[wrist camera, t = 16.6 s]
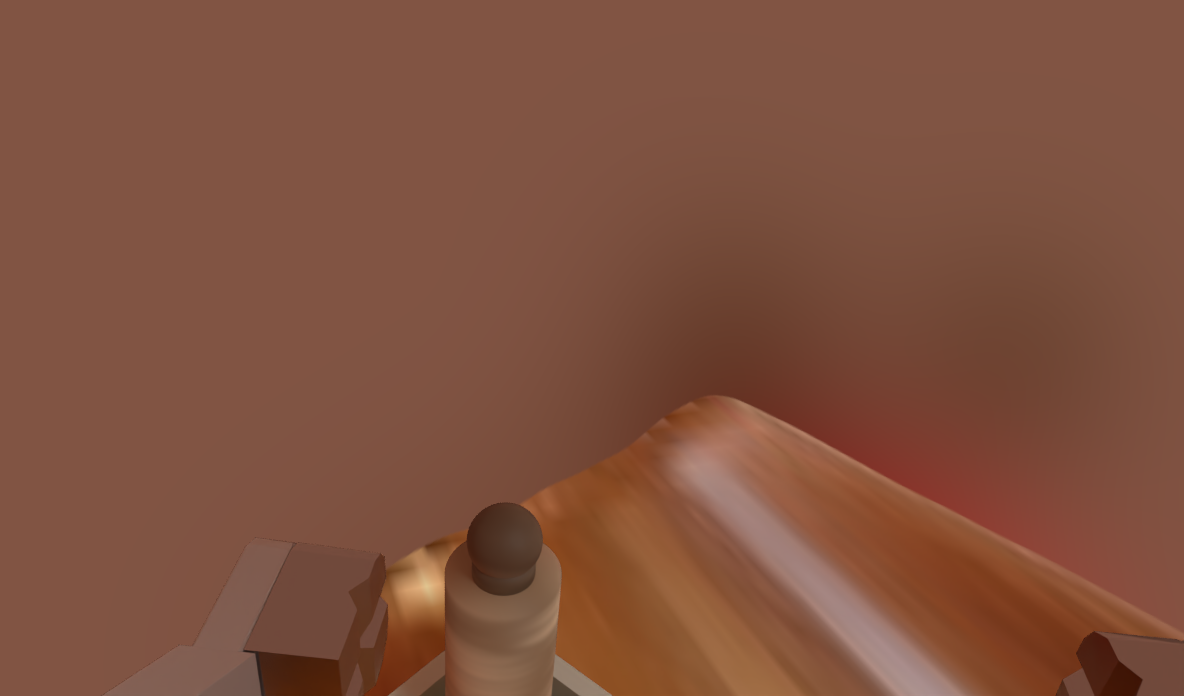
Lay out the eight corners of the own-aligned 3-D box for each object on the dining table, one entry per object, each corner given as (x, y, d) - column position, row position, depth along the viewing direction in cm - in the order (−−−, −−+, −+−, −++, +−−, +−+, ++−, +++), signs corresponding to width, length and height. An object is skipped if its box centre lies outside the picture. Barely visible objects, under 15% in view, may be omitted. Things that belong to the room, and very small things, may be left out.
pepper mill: (493, 720, 46) (503, 457, 38) (564, 776, 44) (591, 511, 36) (425, 782, 43) (418, 513, 35) (496, 846, 41) (508, 575, 33)
